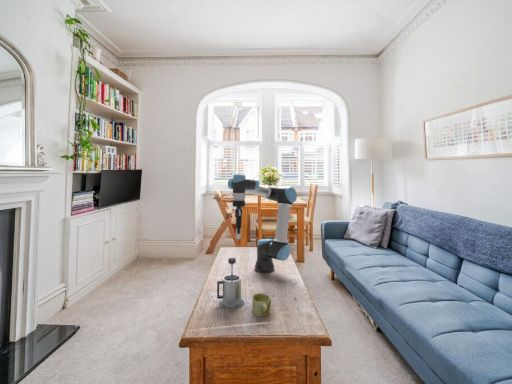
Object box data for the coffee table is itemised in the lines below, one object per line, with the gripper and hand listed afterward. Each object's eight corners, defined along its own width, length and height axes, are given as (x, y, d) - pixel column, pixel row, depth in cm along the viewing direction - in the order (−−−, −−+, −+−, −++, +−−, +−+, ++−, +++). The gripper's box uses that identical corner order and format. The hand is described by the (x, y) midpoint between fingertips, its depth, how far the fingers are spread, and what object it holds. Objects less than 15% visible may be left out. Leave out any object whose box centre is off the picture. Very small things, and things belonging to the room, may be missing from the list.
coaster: (242, 297, 145) (242, 296, 145) (246, 309, 132) (246, 308, 132) (218, 299, 143) (218, 298, 143) (219, 311, 129) (219, 310, 129)
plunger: (237, 280, 141) (237, 256, 140) (238, 285, 134) (238, 260, 133) (225, 281, 139) (225, 257, 139) (226, 286, 133) (226, 261, 132)
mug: (248, 303, 134) (254, 288, 132) (266, 309, 135) (272, 293, 133) (247, 320, 122) (254, 303, 120) (267, 326, 123) (274, 309, 121)
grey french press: (239, 298, 143) (239, 274, 142) (241, 306, 133) (242, 280, 133) (216, 300, 140) (216, 275, 140) (217, 308, 131) (217, 282, 130)
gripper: (231, 199, 157) (231, 236, 158) (233, 200, 144) (233, 241, 145) (243, 199, 158) (243, 236, 159) (246, 200, 145) (245, 241, 146)
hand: (238, 238), depth 152 cm, fingers closed
